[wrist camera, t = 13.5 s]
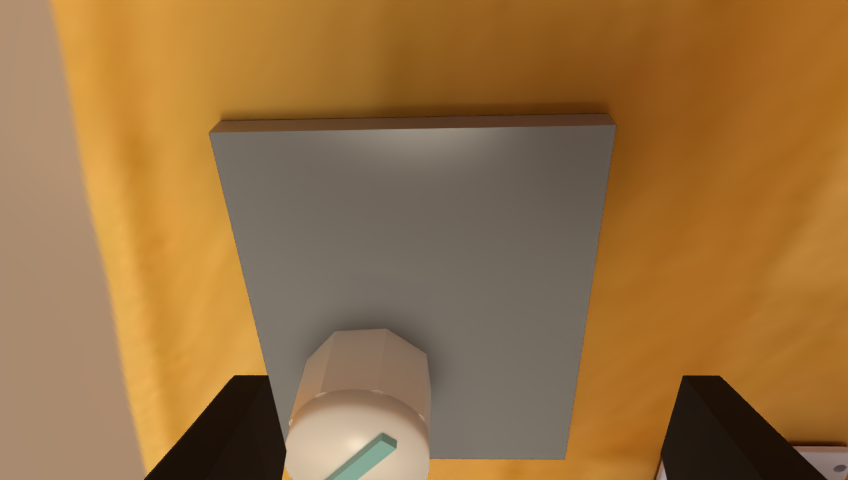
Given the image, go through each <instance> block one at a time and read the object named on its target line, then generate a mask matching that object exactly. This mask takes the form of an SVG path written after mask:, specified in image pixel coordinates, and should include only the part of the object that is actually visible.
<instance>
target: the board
mask: <svg viewBox="0 0 848 480" xmlns="http://www.w3.org/2000/svg"><path fill="white" fill-rule="evenodd" d="M615 131H616V124H615V123H614V121H613V120H612V118H611V117H610V116H609V114H608V113H606V114H554V115H502V116H450V117H398V118H346V119H295V120H243V121H219V122H218V124H217V125H216V126H215V127H214V128H213V129H212V130H211V131H210V132H209V136H210V140H211V144H212V148H213V152H214V156H215V161H216V165H217V169H218V173H219V177H220V181H221V185H222V189H223V193H224V198H225V202H226V206H227V210H228V214H229V218H230V222H231V226H232V230H233V234H234V239H235V243H236V247H237V251H238V255H239V259H240V263H241V267H242V271H243V276H244V280H245V284H246V288H247V292H248V296H249V300H250V304H251V308H252V313H253V317H254V321H255V325H256V329H257V333H258V337H259V341H260V345H261V350H262V354H263V358H264V362H265V366H266V370H267V374H268V376H269V380H270V384H271V388H272V392H273V397H274V401H275V405H276V409H277V413H278V417H279V421H280V425H281V429H282V434H283V438H284V442H285V443H286V440H287V436H288V433H289V429H290V426H289V420H290V416H291V413H292V409H293V406H294V402H295V399H296V396H297V392H298V389H299V385H300V382H301V378H302V375H303V372H304V368H305V365H306V361H307V359H308V358H309V357H310V356H311V355H312V354H313V353H314V352H315V351H316V350H317V349H318V348H319V347H320V346H321V345H322V344H323V343H324V342H325V341H326V340H327V339H328V338H329V337H330V336H331V335H332V334H333V333H334V332H335V331H348V330H366V329H385V328H387V329H388V330H390V331H391V332H393V333H394V334H396V335H398V336H399V337H401V338H402V339H404V340H406V341H407V342H409V343H410V344H412V345H413V346H415V347H417V348H418V349H420V350H421V351H423V352H424V353H426V354H427V361H428V369H429V377H430V385H431V413H430V459H529V460H565V456H566V450H567V443H568V437H569V430H570V424H571V417H572V411H573V404H574V398H575V391H576V385H577V378H578V372H579V365H580V359H581V352H582V346H583V339H584V333H585V326H586V320H587V313H588V307H589V300H590V294H591V287H592V281H593V274H594V268H595V261H596V255H597V248H598V242H599V235H600V229H601V222H602V216H603V209H604V203H605V196H606V190H607V183H608V177H609V170H610V164H611V157H612V151H613V144H614V138H615Z"/></svg>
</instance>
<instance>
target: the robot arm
mask: <svg viewBox="0 0 848 480" xmlns="http://www.w3.org/2000/svg"><path fill="white" fill-rule="evenodd" d="M286 453H287V450H286V446H285V442H284V438H283V434H282V429H281V425H280V421H279V417H278V413H277V409H276V405H275V401H274V397H273V392H272V388H271V384H270V380H269V376H268V375H235V376H234V377H232V378H231V379H230V380H229V381H228V383H227V384H226V385H225V386H224V387H223V389H222V390H221V391H220V392H219V393H218V395H217V396H216V397H215V398H214V399H213V400H212V402H211V403H210V404H209V405H208V406H207V408H206V409H205V410H204V411H203V412H202V414H201V415H200V416H199V417H198V418H197V420H196V421H195V422H194V423H193V424H192V425H191V427H190V428H189V429H188V430H187V431H186V432H185V434H184V435H183V436H182V437H181V438H180V439H179V441H178V442H177V443H176V444H175V445H174V446H173V447H172V449H171V450H170V451H169V452H168V453H167V454H166V455H165V456H164V457H163V459H162V460H161V461H160V462H159V463H158V464H157V465H156V466H155V468H154V469H153V470H152V471H151V472H150V473H149V474H148V475H147V477H146V478H145V479H144V480H282V475H283V470H284V464H285V459H286ZM661 458H662V461H661V465H660V468H659V472H658V475H657V478H656V480H844V479H845V478H846V476H847V474H848V447H842V446H791V445H790V444H789V443H788V442H787V441H786V440H785V439H784V438H783V437H782V436H781V435H780V434H779V433H778V432H777V431H776V430H775V429H774V428H773V427H772V426H771V425H770V424H769V423H768V422H767V421H766V420H765V419H764V418H763V417H762V416H761V415H760V414H759V413H758V412H756V411H755V410H754V409H753V408H752V407H751V406H750V405H749V404H748V403H747V402H746V401H745V400H744V399H743V398H742V397H741V396H740V395H739V394H738V393H737V392H736V391H735V390H734V389H733V388H732V387H731V386H730V385H729V384H728V383H727V382H726V381H725V380H724V379H723V378H722V377H720V376H683V377H682V381H681V384H680V388H679V391H678V395H677V398H676V402H675V405H674V409H673V412H672V416H671V419H670V422H669V426H668V429H667V433H666V436H665V440H664V443H663V447H662V450H661Z"/></svg>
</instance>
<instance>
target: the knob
mask: <svg viewBox="0 0 848 480" xmlns="http://www.w3.org/2000/svg"><path fill="white" fill-rule="evenodd" d="M430 413H431V385H430V377H429V369H428V361H427V354H426V353H424V352H423V351H421V350H420V349H418V348H417V347H415V346H413V345H412V344H410V343H409V342H407V341H406V340H404V339H402V338H401V337H399V336H398V335H396V334H394V333H393V332H391V331H390V330H388V329H387V328H385V329H366V330H348V331H335V332H334V333H333V334H332V335H331V336H330V337H329V338H328V339H327V340H326V341H325V342H324V343H323V344H322V345H321V346H320V347H319V348H318V349H317V350H316V351H315V352H314V353H313V354H312V355H311V356H310V357H309V358H308V359H307V361H306V365H305V368H304V372H303V375H302V378H301V382H300V385H299V389H298V392H297V396H296V399H295V402H294V406H293V409H292V413H291V416H290V420H289V426H290V429H289V433H288V436H287V440H286V443H285V446H286V450H287V453H286V459H285V464H284V465H285V468H286V470H287V472H288V474H289V475H290V477H291V478H292V479H293V480H426V478H427V476H428V472H429V460H430Z"/></svg>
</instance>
